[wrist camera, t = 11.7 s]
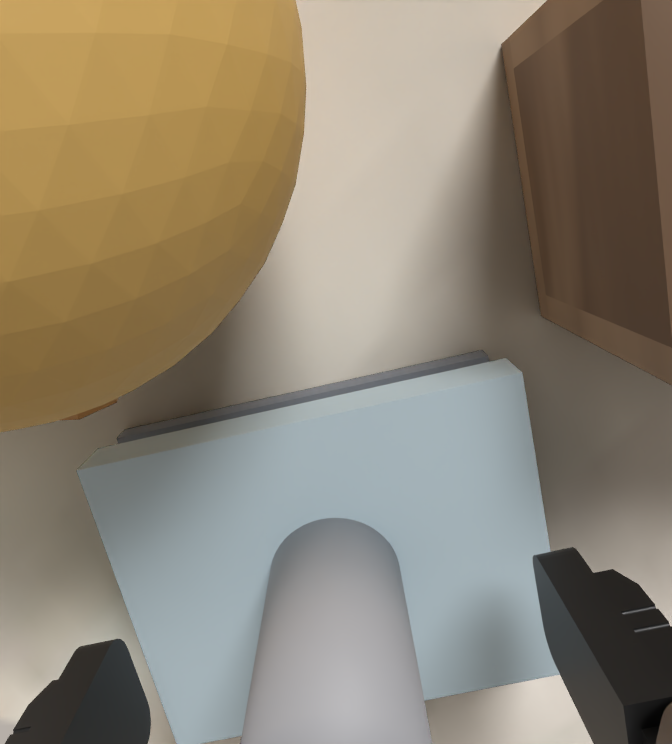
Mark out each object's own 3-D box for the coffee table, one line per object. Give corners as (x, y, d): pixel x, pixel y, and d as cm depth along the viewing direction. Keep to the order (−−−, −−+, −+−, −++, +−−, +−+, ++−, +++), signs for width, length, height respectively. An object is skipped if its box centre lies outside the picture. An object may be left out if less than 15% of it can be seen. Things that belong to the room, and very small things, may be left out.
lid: (494, 348, 14) (655, 489, 7) (538, 611, 16) (702, 933, 9) (112, 432, 15) (-93, 644, 8) (197, 678, 17) (95, 1036, 9)
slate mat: (482, 349, 15) (488, 356, 14) (524, 596, 17) (531, 610, 16) (124, 429, 15) (116, 438, 15) (203, 661, 17) (198, 677, 17)
